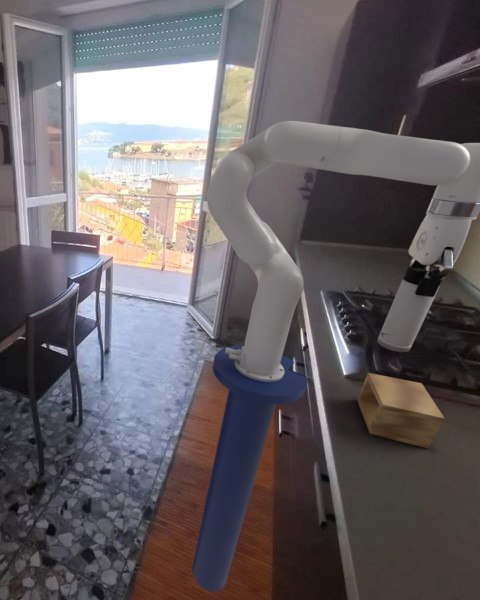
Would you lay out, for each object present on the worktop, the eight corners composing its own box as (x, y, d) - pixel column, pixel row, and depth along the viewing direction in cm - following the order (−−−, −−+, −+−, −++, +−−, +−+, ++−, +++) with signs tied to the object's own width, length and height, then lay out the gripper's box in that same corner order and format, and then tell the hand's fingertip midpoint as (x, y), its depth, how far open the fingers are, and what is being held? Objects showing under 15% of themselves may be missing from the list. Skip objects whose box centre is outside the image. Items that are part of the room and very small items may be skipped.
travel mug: (373, 345, 86) (406, 268, 78) (379, 336, 90) (411, 261, 82) (406, 356, 82) (444, 275, 74) (411, 346, 86) (448, 268, 78)
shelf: (369, 433, 77) (382, 404, 74) (357, 399, 87) (367, 372, 84) (428, 448, 74) (445, 418, 70) (408, 411, 84) (421, 383, 80)
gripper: (413, 201, 81) (385, 274, 89) (448, 215, 67) (410, 301, 74) (456, 203, 78) (423, 279, 86) (502, 219, 64) (457, 308, 71)
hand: (417, 288), depth 80 cm, fingers closed on travel mug, 6 cm apart
